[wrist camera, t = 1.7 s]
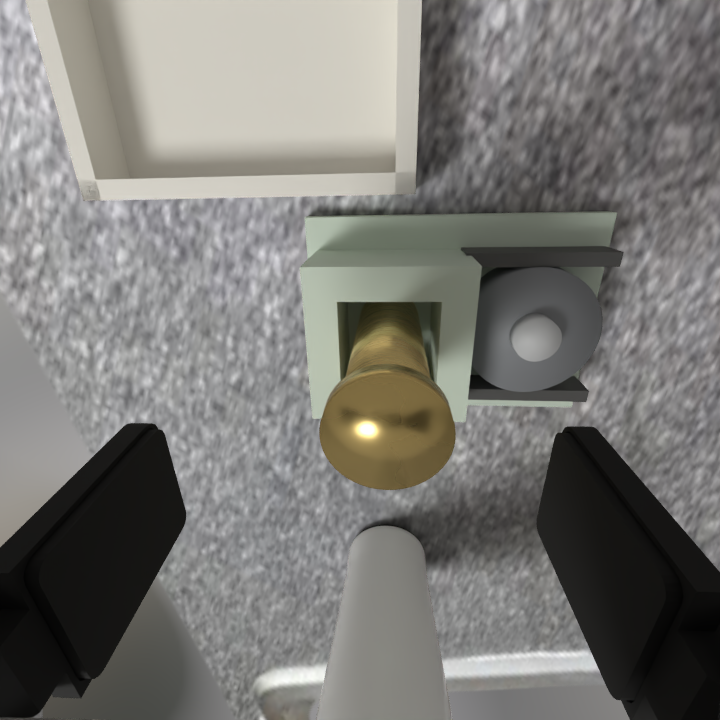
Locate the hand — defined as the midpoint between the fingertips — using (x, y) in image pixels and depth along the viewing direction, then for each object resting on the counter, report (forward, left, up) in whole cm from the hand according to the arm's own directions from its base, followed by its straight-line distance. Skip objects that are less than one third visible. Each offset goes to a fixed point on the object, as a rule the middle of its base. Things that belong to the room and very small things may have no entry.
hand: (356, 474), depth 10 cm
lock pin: (-1, 0, -12) cm, 12 cm away
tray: (+5, -11, -13) cm, 18 cm away
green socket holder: (-4, 0, -13) cm, 13 cm away
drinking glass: (-1, +18, -13) cm, 22 cm away
